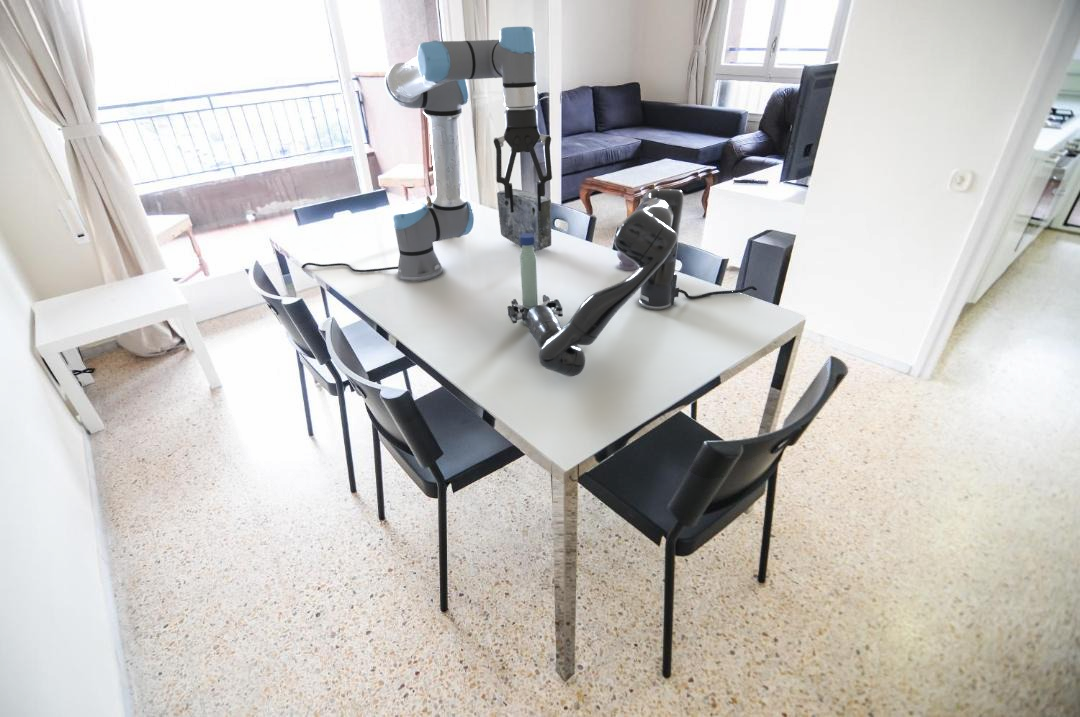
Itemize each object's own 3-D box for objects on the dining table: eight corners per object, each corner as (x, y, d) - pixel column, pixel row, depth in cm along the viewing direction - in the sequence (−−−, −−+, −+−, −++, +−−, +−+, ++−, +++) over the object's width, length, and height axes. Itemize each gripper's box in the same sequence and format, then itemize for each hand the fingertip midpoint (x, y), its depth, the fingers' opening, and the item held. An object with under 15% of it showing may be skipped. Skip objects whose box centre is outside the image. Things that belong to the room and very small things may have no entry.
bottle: (534, 326, 139) (530, 240, 126) (521, 323, 141) (516, 238, 128) (541, 320, 142) (537, 235, 129) (527, 317, 144) (523, 233, 131)
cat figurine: (645, 266, 174) (647, 232, 168) (632, 273, 170) (634, 238, 163) (624, 261, 180) (626, 228, 173) (611, 267, 175) (613, 233, 168)
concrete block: (556, 252, 190) (555, 199, 179) (537, 257, 186) (535, 203, 175) (517, 236, 209) (515, 187, 198) (500, 240, 204) (496, 190, 194)
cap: (530, 246, 127) (530, 238, 126) (517, 244, 129) (516, 236, 128) (537, 241, 130) (537, 234, 129) (524, 240, 132) (523, 232, 131)
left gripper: (560, 104, 117) (561, 204, 129) (478, 108, 116) (487, 208, 128) (564, 107, 110) (565, 212, 122) (478, 111, 109) (487, 216, 121)
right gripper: (570, 308, 125) (553, 284, 139) (515, 316, 123) (503, 291, 136) (570, 334, 129) (553, 308, 143) (517, 342, 127) (505, 315, 140)
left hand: (525, 210), depth 125 cm, fingers open, 6 cm apart
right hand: (529, 300), depth 139 cm, fingers open, 8 cm apart
